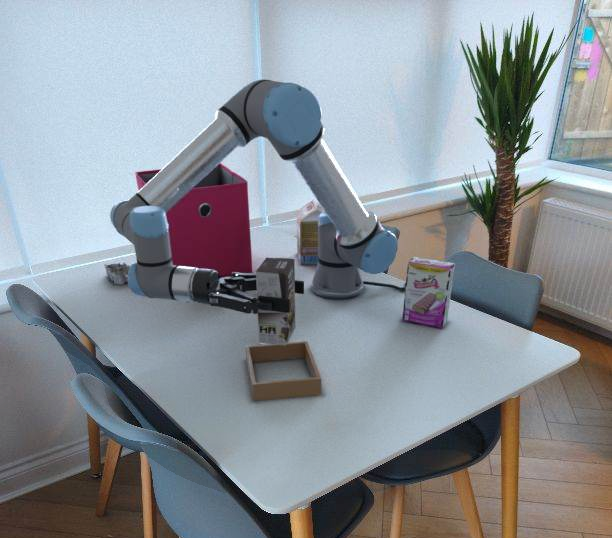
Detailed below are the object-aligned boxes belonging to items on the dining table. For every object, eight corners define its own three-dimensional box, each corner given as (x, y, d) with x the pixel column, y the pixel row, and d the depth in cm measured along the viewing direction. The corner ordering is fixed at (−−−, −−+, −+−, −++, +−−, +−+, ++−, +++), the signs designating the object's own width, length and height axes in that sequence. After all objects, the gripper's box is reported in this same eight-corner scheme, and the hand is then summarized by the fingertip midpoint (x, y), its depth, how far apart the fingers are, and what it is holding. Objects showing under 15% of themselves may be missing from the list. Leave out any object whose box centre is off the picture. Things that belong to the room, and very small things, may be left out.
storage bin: (165, 290, 178) (152, 191, 163) (146, 259, 200) (133, 170, 185) (255, 276, 188) (250, 181, 172) (227, 248, 210) (221, 162, 194)
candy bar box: (401, 321, 160) (406, 262, 151) (406, 314, 164) (412, 256, 155) (443, 329, 156) (451, 268, 147) (447, 322, 160) (455, 262, 151)
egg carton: (138, 281, 184) (136, 268, 182) (114, 286, 181) (112, 273, 179) (128, 270, 192) (126, 258, 190) (105, 274, 189) (102, 262, 187)
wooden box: (307, 355, 144) (307, 341, 142) (321, 394, 130) (321, 378, 127) (246, 361, 142) (245, 345, 140) (253, 400, 128) (252, 384, 125)
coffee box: (287, 346, 128) (285, 273, 119) (258, 343, 129) (254, 271, 120) (296, 327, 135) (295, 257, 126) (268, 325, 136) (265, 255, 128)
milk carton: (297, 254, 205) (296, 196, 195) (328, 252, 206) (329, 195, 196) (300, 264, 196) (300, 205, 186) (332, 263, 197) (333, 204, 187)
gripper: (219, 283, 142) (311, 293, 137) (177, 322, 124) (280, 335, 119) (216, 252, 138) (311, 261, 133) (172, 288, 120) (279, 300, 115)
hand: (296, 296), depth 126 cm, fingers closed on coffee box, 9 cm apart
